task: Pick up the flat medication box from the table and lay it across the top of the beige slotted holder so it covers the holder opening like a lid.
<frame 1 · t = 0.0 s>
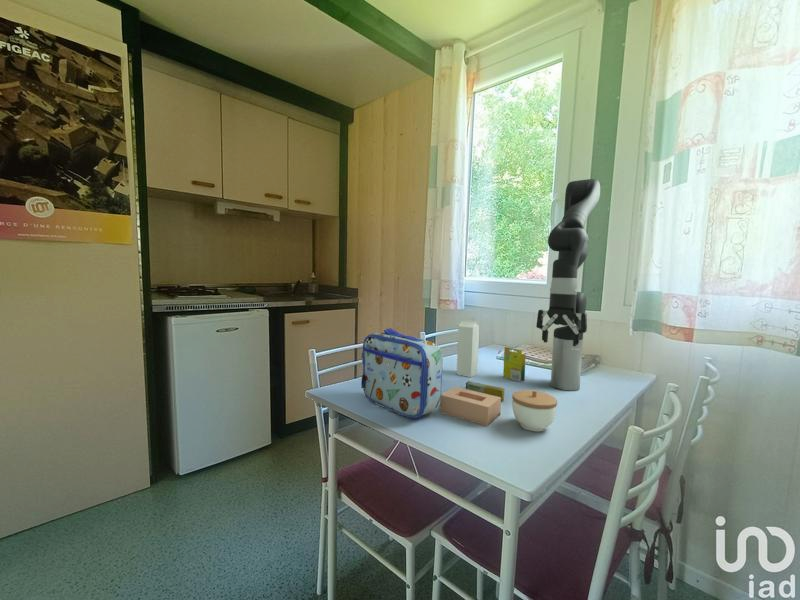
hand: (559, 344, 110), 17 cm above the table, tool pointing down, fingers open, 8 cm apart
beige slotted holder: (469, 413, 97), on the table
crayon box: (513, 379, 130), on the table
lunch box: (397, 407, 101), on the table
lidded jar: (532, 426, 90), on the table
medication box: (484, 398, 111), on the table
milk: (466, 374, 135), on the table
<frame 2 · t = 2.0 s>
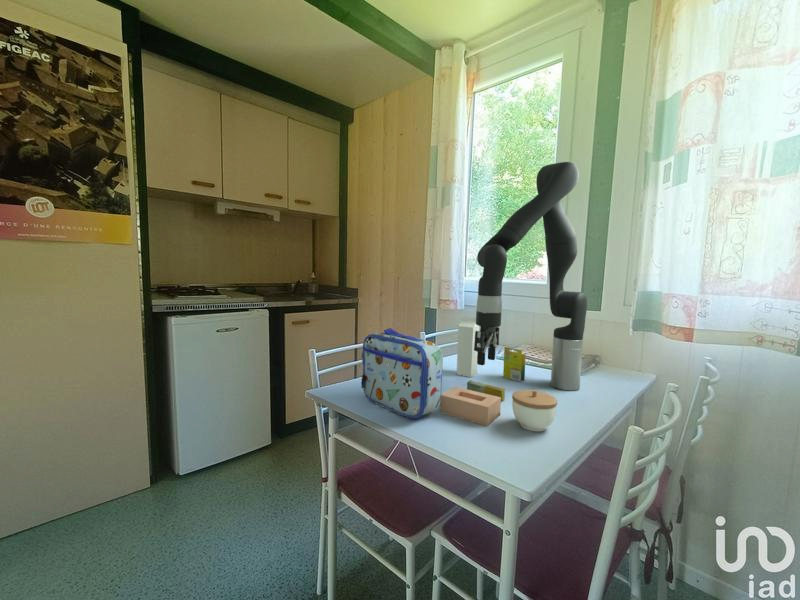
hand: (486, 362, 109), 11 cm above the table, tool pointing down, fingers open, 8 cm apart
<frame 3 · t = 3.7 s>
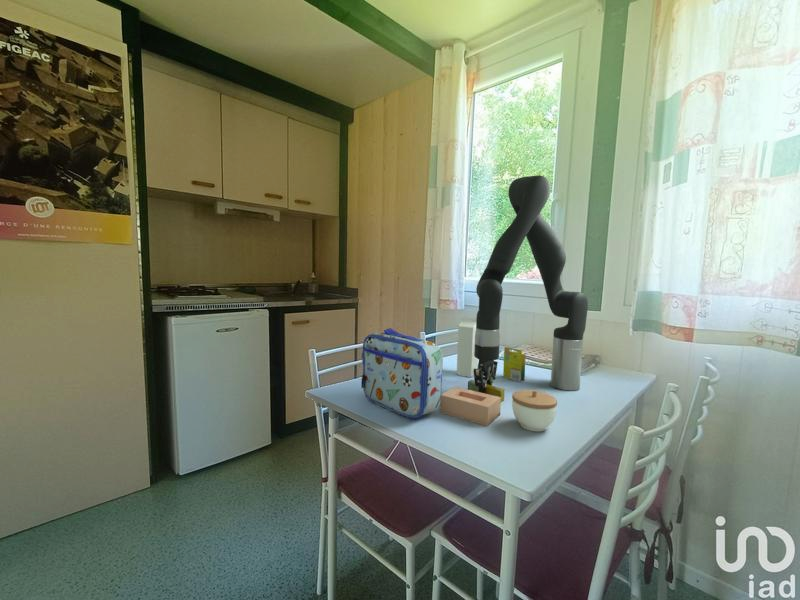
hand: (484, 396, 111), 0 cm above the table, tool pointing down, fingers open, 4 cm apart
medication box: (485, 397, 111), on the table, touching gripper
everything else where it was.
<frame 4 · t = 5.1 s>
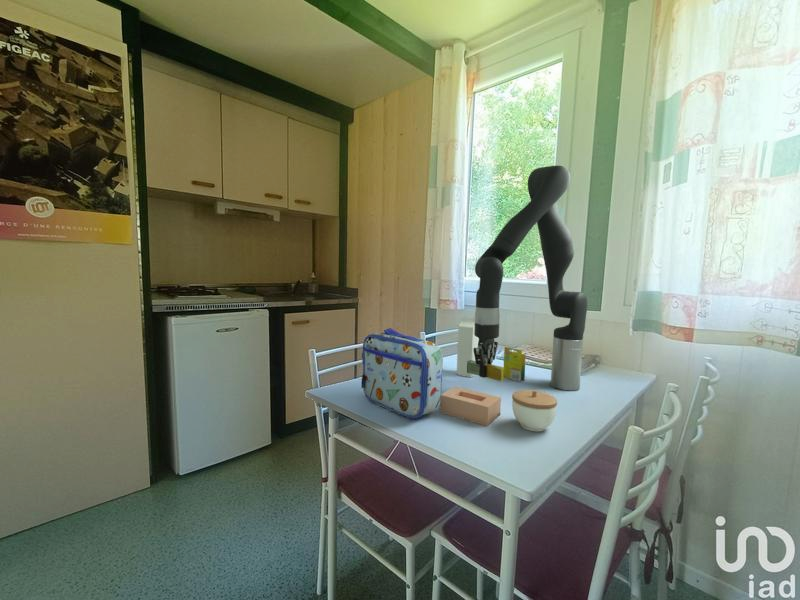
hand: (485, 375, 111), 7 cm above the table, tool pointing down, fingers closed on medication box, 3 cm apart
medication box: (484, 376, 111), point 6 cm above the table, touching gripper
everything else where it was.
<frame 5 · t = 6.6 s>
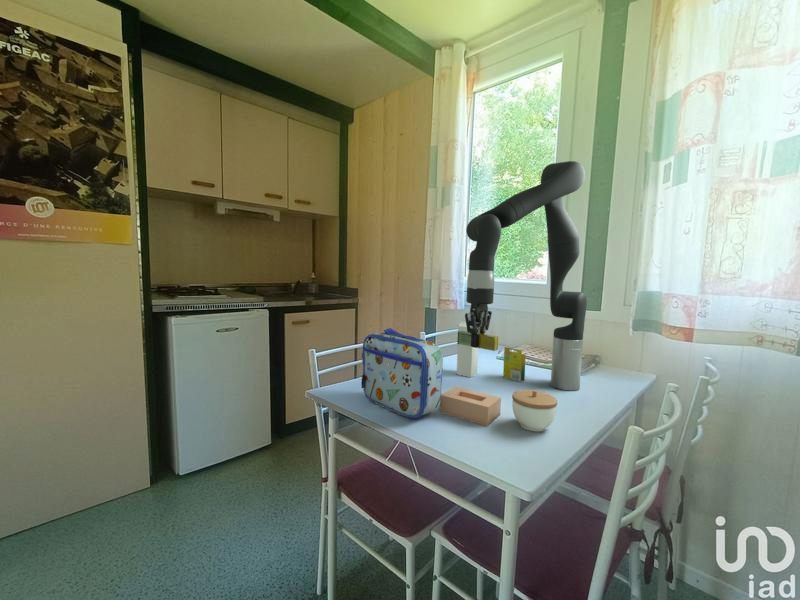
hand: (477, 346, 101), 18 cm above the table, tool pointing down, fingers closed on medication box, 3 cm apart
medication box: (476, 347, 101), point 17 cm above the table, touching gripper
everything else where it was.
when the fingers open (6 cm above the table, at t = 9.0 s): medication box drops 1 cm, resting on beige slotted holder.
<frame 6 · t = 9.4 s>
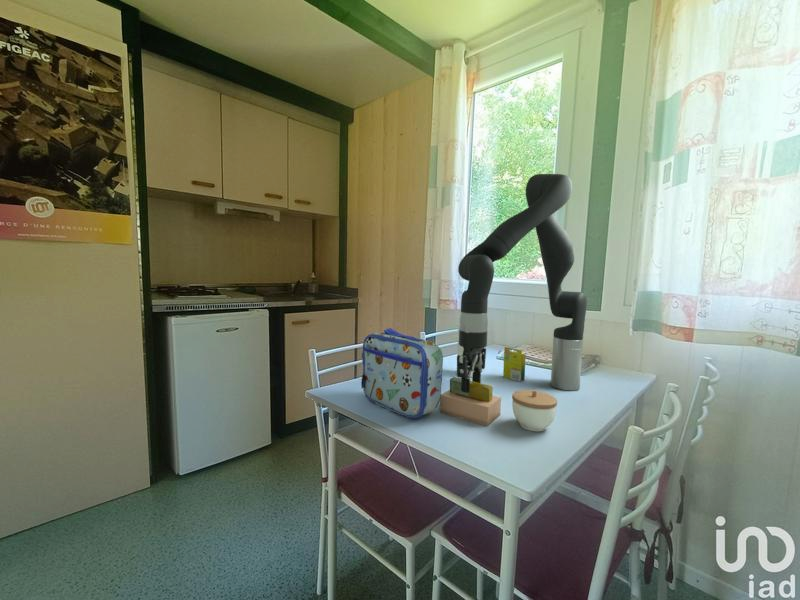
hand: (470, 388, 97), 7 cm above the table, tool pointing down, fingers open, 6 cm apart
medication box: (470, 396, 97), point 5 cm above the table, touching beige slotted holder
everything else where it was.
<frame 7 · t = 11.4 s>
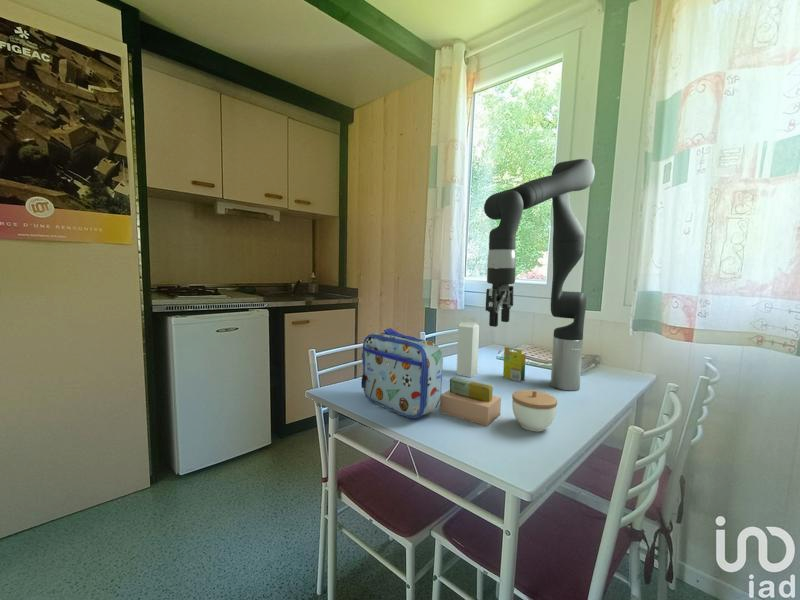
hand: (499, 324, 99), 25 cm above the table, tool pointing down, fingers open, 8 cm apart
nothing on the table moved.
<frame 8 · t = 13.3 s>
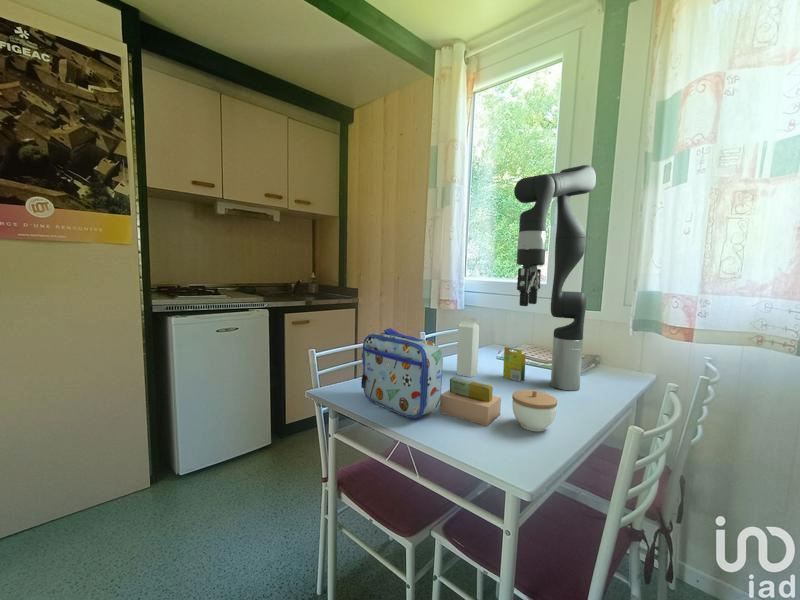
hand: (528, 304, 101), 30 cm above the table, tool pointing down, fingers open, 8 cm apart
nothing on the table moved.
at the end: medication box 0.1 cm off-centre on the beige slotted holder, point 4.8 cm above the beige slotted holder's base; medication box tilted 0°; the gripper is holding nothing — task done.
